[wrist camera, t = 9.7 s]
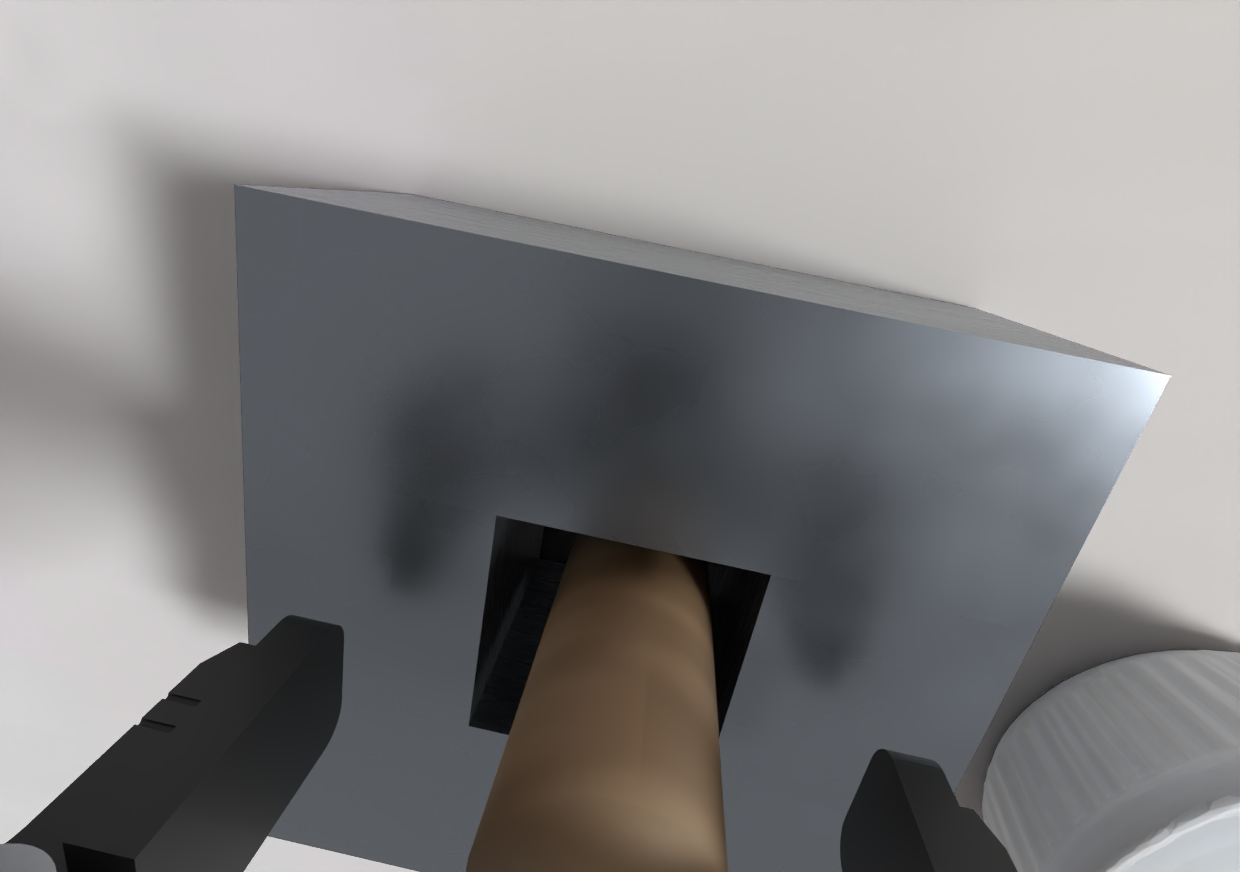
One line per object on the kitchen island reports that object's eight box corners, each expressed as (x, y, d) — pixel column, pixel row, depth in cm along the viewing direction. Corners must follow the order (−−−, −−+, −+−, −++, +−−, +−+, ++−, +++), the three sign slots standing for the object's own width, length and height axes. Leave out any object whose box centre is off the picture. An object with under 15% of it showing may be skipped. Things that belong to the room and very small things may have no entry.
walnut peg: (715, 464, 16) (759, 832, 6) (690, 564, 17) (697, 1005, 8) (599, 441, 16) (479, 770, 7) (581, 542, 17) (455, 950, 8)
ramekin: (1186, 527, 15) (1424, 679, 10) (1477, 761, 17) (1809, 992, 12) (862, 783, 19) (923, 985, 14) (1121, 957, 20) (1260, 1196, 16)
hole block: (976, 308, 14) (1170, 375, 8) (807, 743, 19) (859, 974, 13) (411, 194, 14) (234, 184, 9) (382, 647, 19) (254, 833, 13)
